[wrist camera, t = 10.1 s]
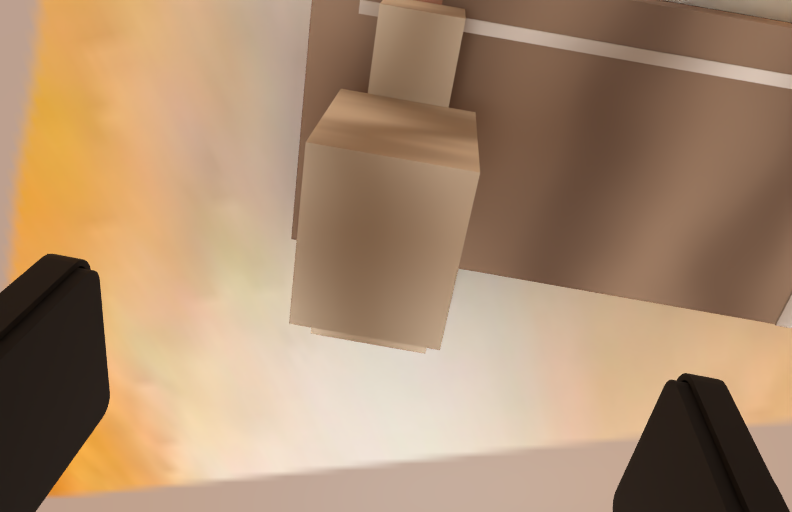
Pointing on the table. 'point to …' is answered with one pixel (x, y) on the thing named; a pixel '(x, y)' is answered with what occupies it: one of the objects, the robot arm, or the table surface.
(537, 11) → the board
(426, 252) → the stacked wooden blocks
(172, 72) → the table surface
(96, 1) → the table surface
